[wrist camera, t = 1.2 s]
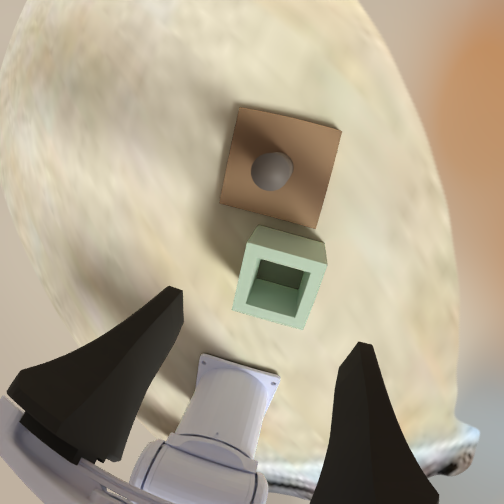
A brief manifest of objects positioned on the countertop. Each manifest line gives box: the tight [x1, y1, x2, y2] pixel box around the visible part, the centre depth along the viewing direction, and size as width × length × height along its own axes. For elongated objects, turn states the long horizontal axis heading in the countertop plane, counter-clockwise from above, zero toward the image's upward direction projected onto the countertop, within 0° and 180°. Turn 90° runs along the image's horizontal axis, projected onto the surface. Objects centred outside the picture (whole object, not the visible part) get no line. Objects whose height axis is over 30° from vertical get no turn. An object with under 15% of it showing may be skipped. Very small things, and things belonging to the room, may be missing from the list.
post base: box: [220, 107, 342, 229], centre depth 17 cm, size 7×7×5 cm
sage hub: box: [232, 225, 327, 330], centre depth 20 cm, size 5×5×4 cm
